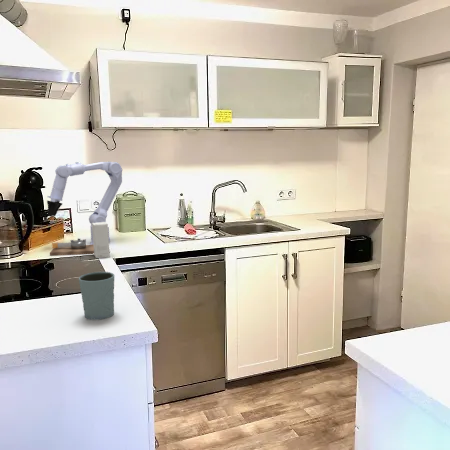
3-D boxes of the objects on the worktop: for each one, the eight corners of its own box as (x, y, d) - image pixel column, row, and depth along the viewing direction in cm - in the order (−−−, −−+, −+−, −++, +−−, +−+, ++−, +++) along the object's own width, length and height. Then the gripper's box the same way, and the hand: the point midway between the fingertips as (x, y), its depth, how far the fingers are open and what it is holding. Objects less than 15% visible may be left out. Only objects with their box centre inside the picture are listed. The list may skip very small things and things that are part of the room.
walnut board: (96, 247, 231) (96, 244, 231) (94, 253, 216) (94, 250, 216) (55, 249, 227) (55, 245, 227) (49, 255, 213) (49, 252, 212)
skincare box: (110, 257, 209) (108, 224, 207) (95, 258, 207) (93, 224, 204) (107, 253, 217) (106, 221, 214) (93, 254, 214) (91, 222, 212)
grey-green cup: (122, 314, 137) (121, 275, 135) (93, 323, 129) (90, 283, 128) (103, 306, 144) (101, 269, 142) (74, 315, 136) (72, 276, 134)
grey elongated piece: (86, 245, 226) (86, 238, 226) (85, 248, 220) (84, 241, 219) (54, 247, 224) (53, 239, 223) (51, 250, 217) (50, 242, 216)
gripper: (52, 187, 231) (46, 213, 231) (47, 186, 217) (40, 214, 217) (66, 191, 233) (60, 217, 233) (62, 190, 219) (55, 217, 219)
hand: (51, 215), depth 225 cm, fingers open, 7 cm apart
